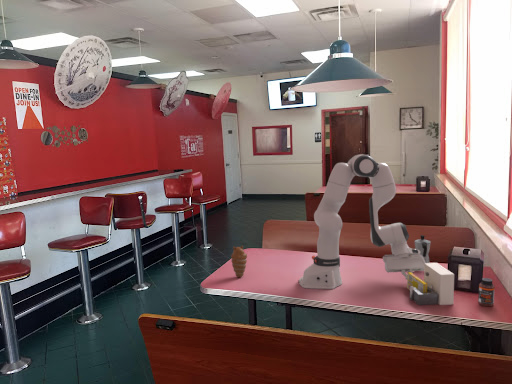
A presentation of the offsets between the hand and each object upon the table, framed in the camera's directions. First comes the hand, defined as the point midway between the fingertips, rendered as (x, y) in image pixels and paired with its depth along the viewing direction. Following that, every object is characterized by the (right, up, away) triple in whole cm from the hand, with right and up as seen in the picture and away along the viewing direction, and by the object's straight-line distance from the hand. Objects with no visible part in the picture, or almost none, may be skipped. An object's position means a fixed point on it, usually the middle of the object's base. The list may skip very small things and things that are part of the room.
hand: (409, 278), depth 194 cm
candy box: (0, -6, -8) cm, 10 cm away
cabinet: (+8, -6, -13) cm, 16 cm away
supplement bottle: (+26, -6, -21) cm, 34 cm away
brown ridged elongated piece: (-85, -5, +25) cm, 89 cm away
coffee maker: (+19, 0, +30) cm, 36 cm away
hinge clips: (0, -6, -15) cm, 16 cm away
